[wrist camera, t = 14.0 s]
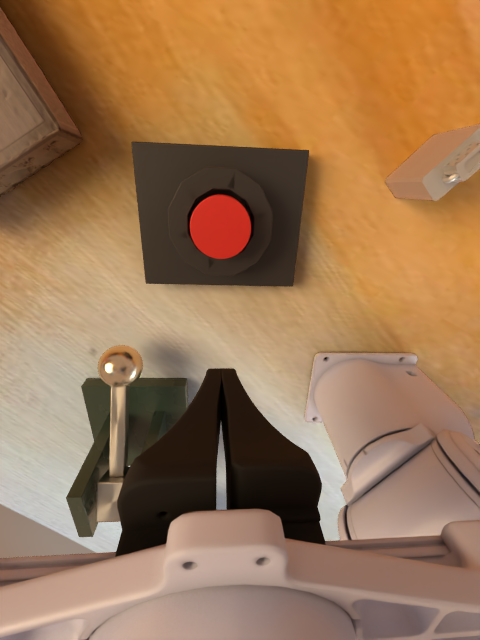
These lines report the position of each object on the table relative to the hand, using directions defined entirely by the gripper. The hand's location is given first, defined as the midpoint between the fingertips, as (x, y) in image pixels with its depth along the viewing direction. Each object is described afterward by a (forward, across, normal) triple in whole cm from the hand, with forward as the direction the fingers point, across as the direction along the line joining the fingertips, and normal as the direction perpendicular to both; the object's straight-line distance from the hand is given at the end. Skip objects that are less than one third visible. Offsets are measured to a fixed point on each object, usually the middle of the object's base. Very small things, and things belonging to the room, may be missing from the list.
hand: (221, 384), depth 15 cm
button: (+8, 0, -7) cm, 10 cm away
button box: (+10, 0, -7) cm, 12 cm away
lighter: (+10, -14, -12) cm, 21 cm away
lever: (+7, +8, +9) cm, 13 cm away
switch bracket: (+10, +8, +12) cm, 18 cm away
